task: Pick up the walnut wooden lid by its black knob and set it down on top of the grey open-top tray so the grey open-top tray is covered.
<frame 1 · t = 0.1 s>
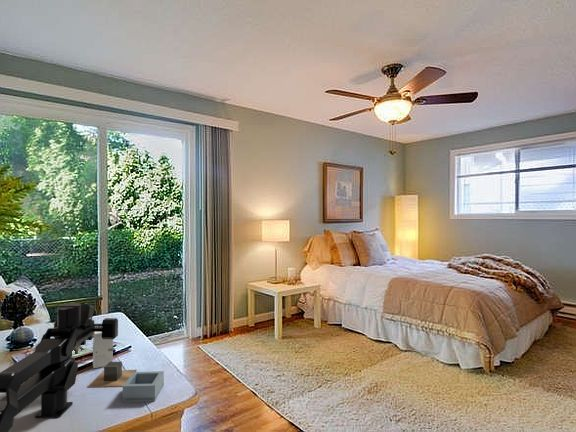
hand: (98, 321, 119), 17 cm above the table, tool horizontal, fingers open, 9 cm apart
lid: (113, 380, 113), on the table
skincare box: (102, 365, 123), on the table
grey open-top tray: (144, 393, 104), on the table
eiffel tower figurine: (75, 354, 133), on the table
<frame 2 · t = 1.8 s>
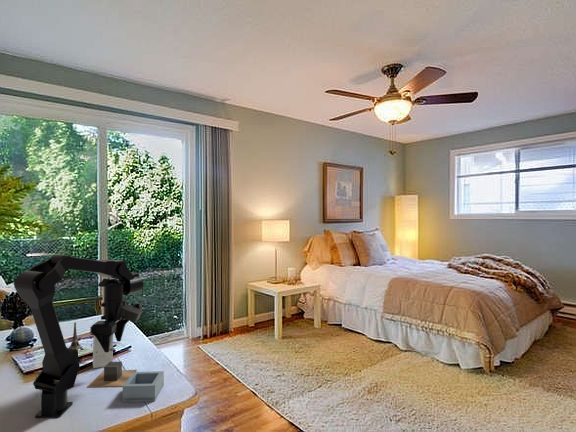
hand: (113, 346, 113), 10 cm above the table, tool pointing down, fingers open, 9 cm apart
nothing on the table moved.
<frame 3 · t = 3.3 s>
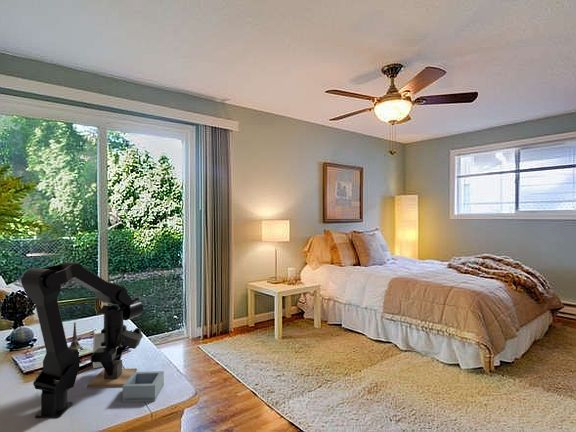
hand: (113, 372, 113), 2 cm above the table, tool pointing down, fingers closed on lid, 4 cm apart
lid: (113, 378, 113), on the table, touching gripper
everything else where it was.
when the fingers open (8 cm above the table, at t = 6.4 s): lid drops 2 cm, resting on grey open-top tray.
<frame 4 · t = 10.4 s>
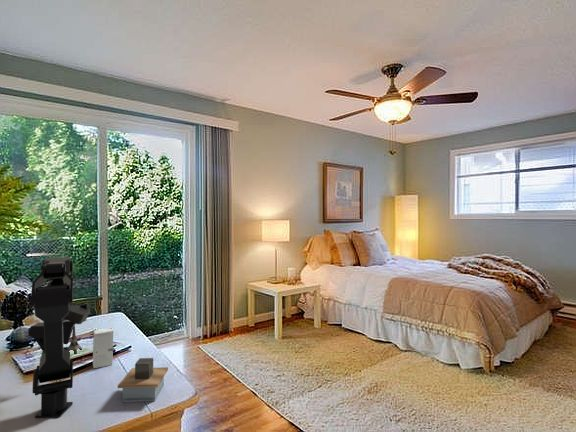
hand: (57, 349, 106), 12 cm above the table, tool pointing down, fingers open, 9 cm apart
lid: (144, 378, 104), point 4 cm above the table, touching grey open-top tray
everything else where it was.
at the end: lid 0.1 cm off-centre on the grey open-top tray, point 4.5 cm above the grey open-top tray's base; lid tilted 0°; the gripper is holding nothing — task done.
